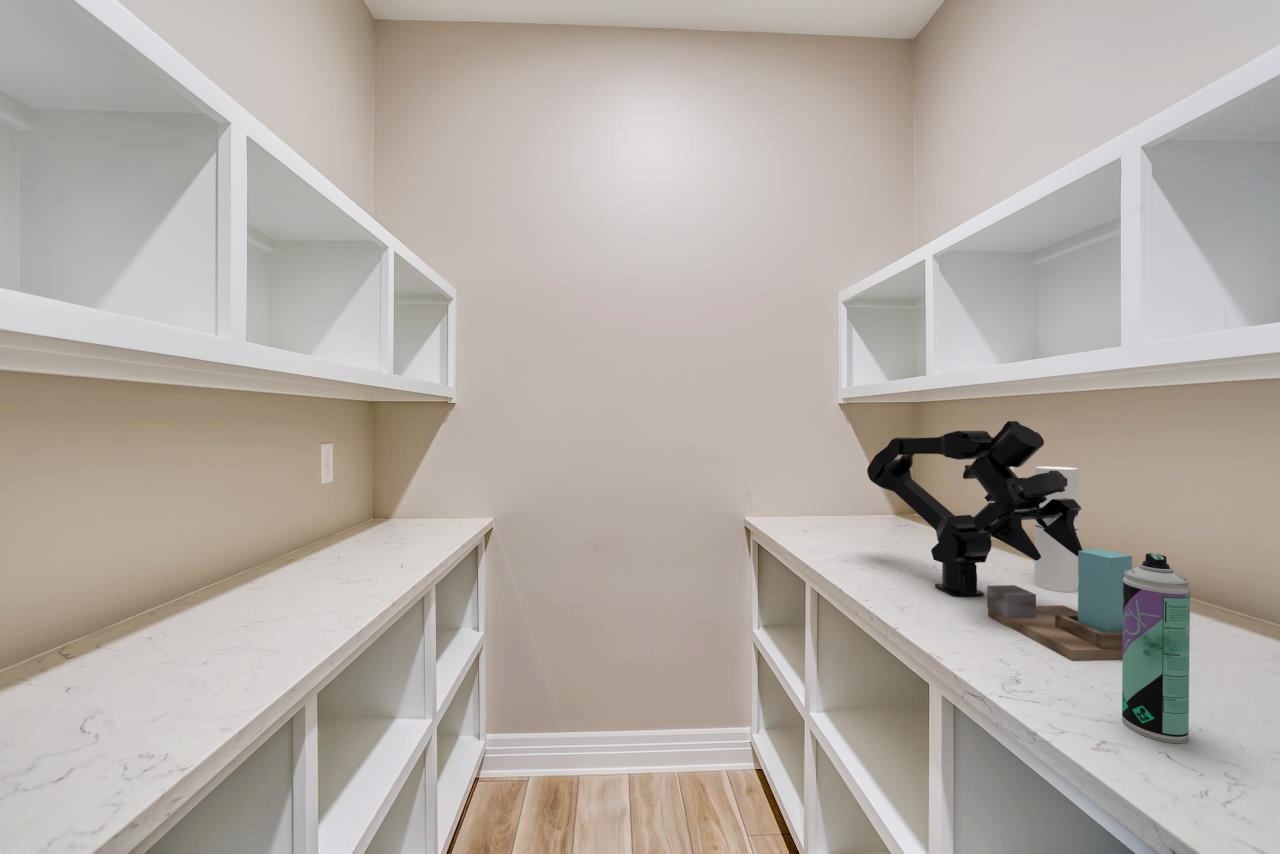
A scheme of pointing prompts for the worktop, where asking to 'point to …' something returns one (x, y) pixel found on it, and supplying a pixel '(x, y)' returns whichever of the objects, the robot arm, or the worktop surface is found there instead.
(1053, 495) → the cylindrical container
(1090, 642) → the walnut base board
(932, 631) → the worktop surface
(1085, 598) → the teal column
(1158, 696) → the spray can
